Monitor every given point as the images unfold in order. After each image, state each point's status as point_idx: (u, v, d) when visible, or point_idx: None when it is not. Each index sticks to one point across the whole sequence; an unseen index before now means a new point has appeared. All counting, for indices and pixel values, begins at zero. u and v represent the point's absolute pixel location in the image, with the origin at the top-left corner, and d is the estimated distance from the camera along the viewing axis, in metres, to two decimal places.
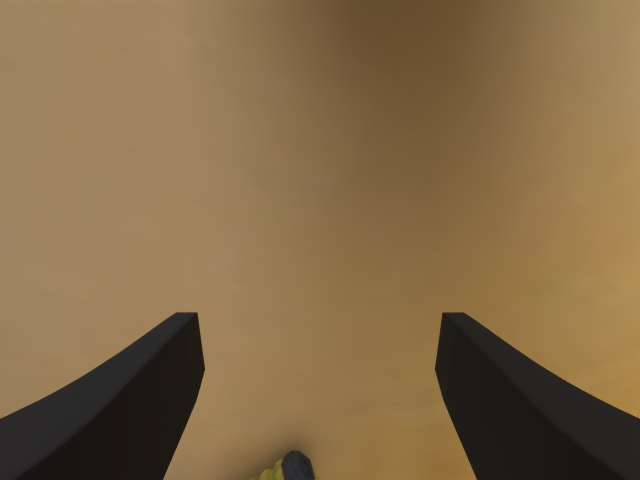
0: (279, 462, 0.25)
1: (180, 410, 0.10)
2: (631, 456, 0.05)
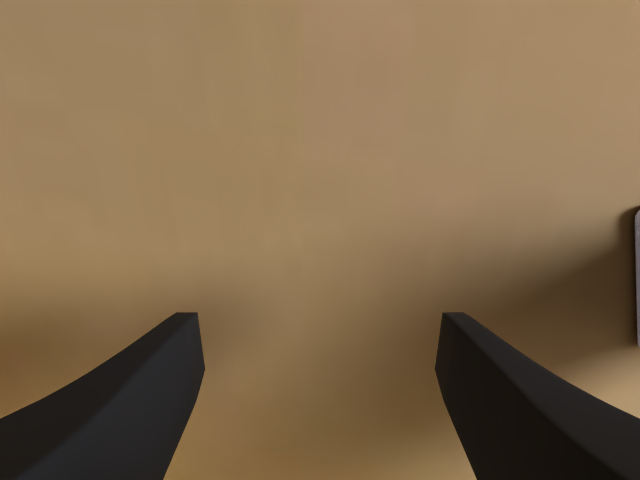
0: None
1: (180, 410, 0.10)
2: (630, 456, 0.05)
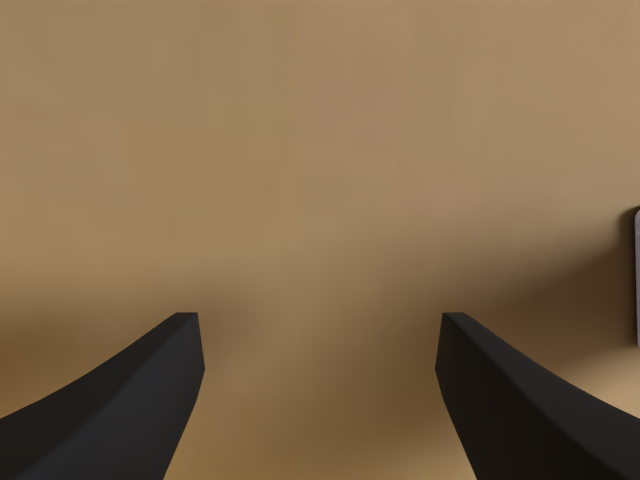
0: None
1: (180, 410, 0.10)
2: (630, 456, 0.05)
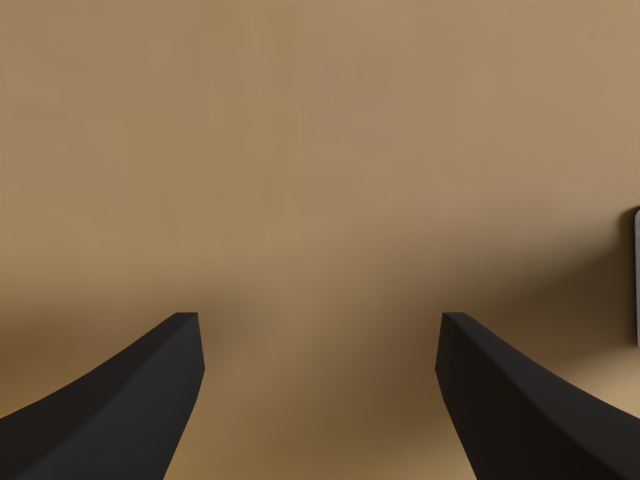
0: None
1: (180, 410, 0.10)
2: (630, 456, 0.05)
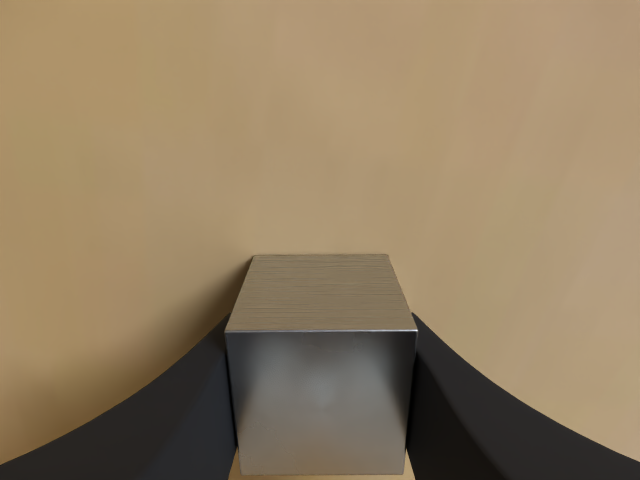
0: None
1: None
2: (524, 455, 0.05)
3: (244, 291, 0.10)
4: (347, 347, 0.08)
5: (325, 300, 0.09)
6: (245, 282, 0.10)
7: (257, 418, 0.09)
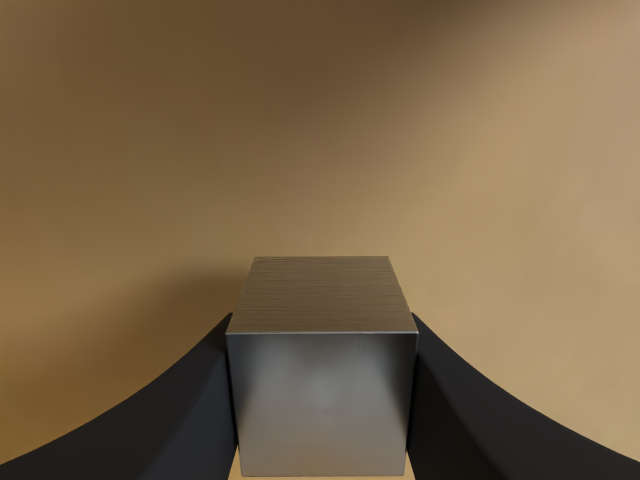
0: None
1: None
2: (524, 456, 0.05)
3: (245, 293, 0.10)
4: (348, 349, 0.08)
5: (326, 302, 0.09)
6: (246, 284, 0.10)
7: (257, 419, 0.09)
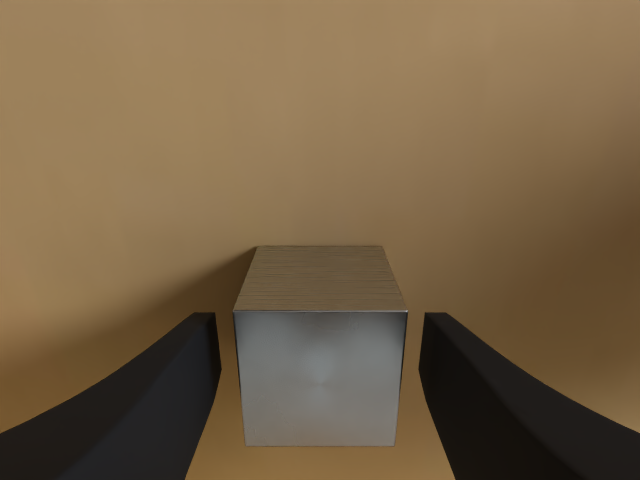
0: None
1: (200, 410, 0.10)
2: (593, 456, 0.05)
3: (249, 277, 0.11)
4: (343, 326, 0.09)
5: (323, 285, 0.10)
6: (250, 269, 0.11)
7: (261, 392, 0.10)
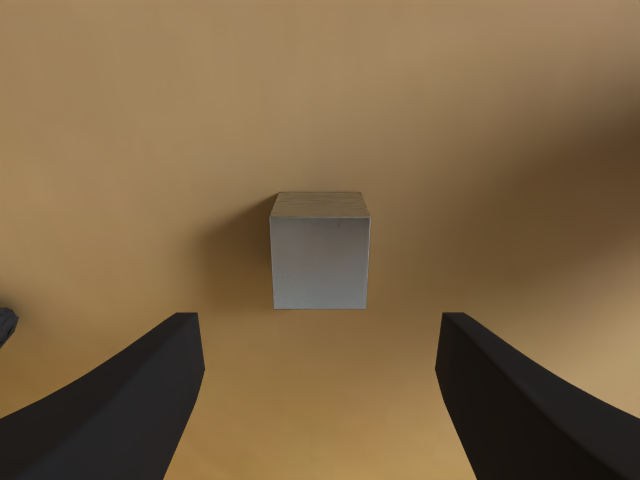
0: None
1: (180, 410, 0.10)
2: (631, 455, 0.05)
3: (276, 204, 0.17)
4: (333, 227, 0.16)
5: (322, 208, 0.17)
6: (276, 201, 0.18)
7: (284, 270, 0.17)
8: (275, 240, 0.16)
